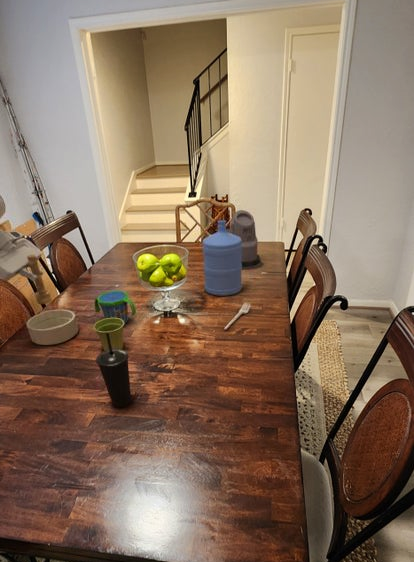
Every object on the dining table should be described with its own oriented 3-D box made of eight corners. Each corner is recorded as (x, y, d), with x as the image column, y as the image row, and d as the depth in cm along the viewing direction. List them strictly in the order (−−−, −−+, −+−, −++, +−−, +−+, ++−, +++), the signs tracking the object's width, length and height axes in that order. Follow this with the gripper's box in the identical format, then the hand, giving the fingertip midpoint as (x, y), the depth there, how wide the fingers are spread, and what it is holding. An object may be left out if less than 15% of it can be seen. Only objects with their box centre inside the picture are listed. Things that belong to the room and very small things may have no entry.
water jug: (237, 297, 149) (237, 226, 134) (200, 295, 153) (196, 225, 138) (244, 283, 161) (245, 216, 147) (210, 281, 165) (207, 216, 151)
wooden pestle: (36, 304, 118) (21, 258, 110) (39, 299, 122) (25, 254, 114) (50, 303, 119) (36, 257, 111) (53, 298, 122) (40, 253, 114)
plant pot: (134, 343, 121) (130, 319, 117) (117, 358, 114) (112, 333, 109) (110, 339, 124) (105, 315, 120) (92, 353, 117) (87, 329, 112)
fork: (220, 329, 127) (220, 324, 126) (243, 306, 141) (243, 302, 140) (229, 331, 125) (229, 326, 124) (251, 308, 140) (251, 303, 139)
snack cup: (91, 324, 134) (85, 299, 129) (109, 313, 142) (104, 288, 137) (126, 332, 128) (121, 305, 123) (143, 319, 136) (139, 293, 131)
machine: (266, 266, 180) (268, 213, 167) (236, 271, 176) (235, 217, 163) (241, 250, 204) (242, 203, 191) (214, 254, 200) (212, 206, 187)
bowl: (26, 348, 121) (20, 332, 118) (38, 326, 135) (33, 311, 132) (74, 343, 123) (70, 327, 120) (81, 322, 136) (78, 307, 133)
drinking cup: (110, 392, 99) (95, 326, 89) (139, 392, 99) (127, 325, 88) (102, 411, 93) (85, 342, 82) (133, 411, 92) (119, 341, 82)
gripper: (-18, 248, 101) (27, 282, 106) (21, 230, 119) (57, 259, 123) (-27, 264, 104) (17, 296, 108) (12, 244, 121) (48, 272, 126)
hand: (39, 276), depth 116 cm, fingers closed on wooden pestle, 2 cm apart
